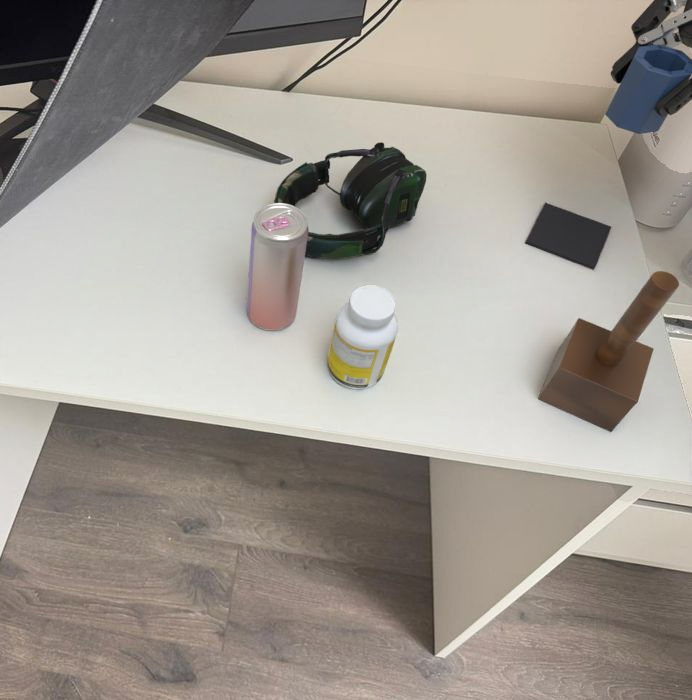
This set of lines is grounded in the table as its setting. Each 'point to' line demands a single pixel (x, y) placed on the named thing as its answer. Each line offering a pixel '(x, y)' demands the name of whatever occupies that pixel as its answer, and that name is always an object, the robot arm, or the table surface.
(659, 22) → the robot arm
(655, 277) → the stand
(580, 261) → the pad
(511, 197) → the table surface
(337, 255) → the headphones
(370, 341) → the pill bottle
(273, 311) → the beverage can
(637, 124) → the blue hollow octagonal tube
